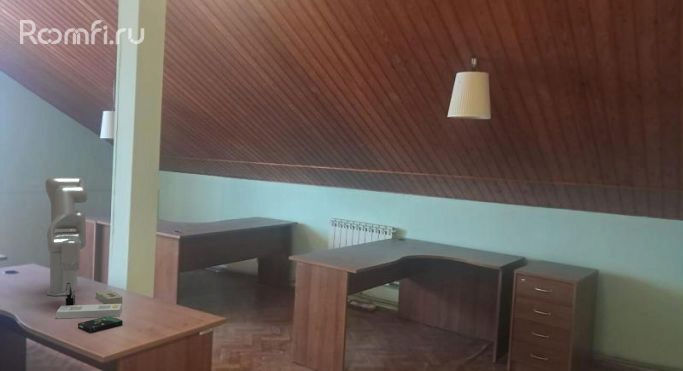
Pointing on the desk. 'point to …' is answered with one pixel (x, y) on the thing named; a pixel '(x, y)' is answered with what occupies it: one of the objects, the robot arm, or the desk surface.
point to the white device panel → (89, 311)
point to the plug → (73, 297)
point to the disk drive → (100, 324)
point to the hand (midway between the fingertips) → (70, 304)
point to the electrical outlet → (109, 297)
